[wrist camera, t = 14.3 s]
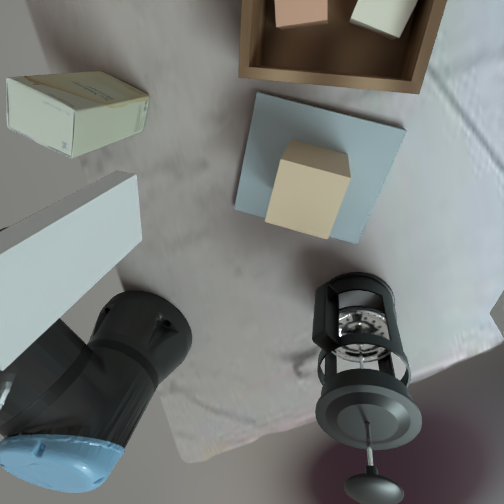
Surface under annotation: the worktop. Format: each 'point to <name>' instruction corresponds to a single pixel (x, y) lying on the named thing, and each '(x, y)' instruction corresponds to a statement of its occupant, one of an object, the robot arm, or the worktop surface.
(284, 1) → the cube terracotta
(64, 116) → the skincare box
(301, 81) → the box
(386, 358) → the french press
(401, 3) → the cube cream
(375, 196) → the lid
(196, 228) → the worktop surface
